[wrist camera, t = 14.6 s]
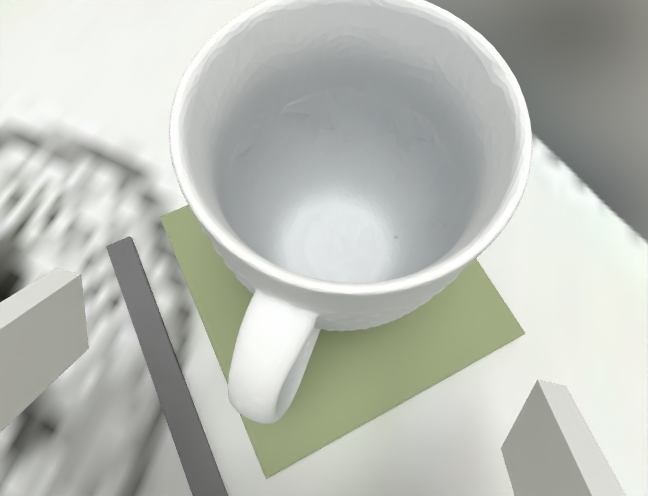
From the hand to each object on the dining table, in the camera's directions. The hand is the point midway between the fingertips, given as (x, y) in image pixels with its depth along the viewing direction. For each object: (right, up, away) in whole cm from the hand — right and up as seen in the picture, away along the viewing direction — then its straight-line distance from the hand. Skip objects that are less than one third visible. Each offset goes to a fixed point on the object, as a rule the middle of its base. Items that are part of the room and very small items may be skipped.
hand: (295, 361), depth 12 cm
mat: (+1, +1, +13) cm, 13 cm away
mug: (+1, +2, +12) cm, 13 cm away
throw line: (-7, -6, +11) cm, 14 cm away
